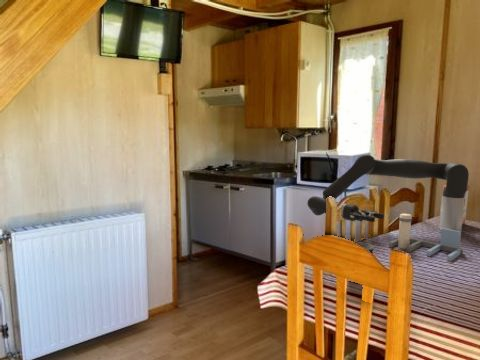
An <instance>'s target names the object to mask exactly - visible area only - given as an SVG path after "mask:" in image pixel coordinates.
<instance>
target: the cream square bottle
mask: <svg viewBox="0 0 480 360" xmlns="http://www.w3.org/2000/svg"><path fill="white" fill-rule="evenodd" d="M398 220H399V226H398V238H397V239H398V245H397V248H398V249H401V250H407V246H409V245H410V244H411V243H410V238H411V231H412V230H411V229H412V228H411V226H412V225H411V224H412V222H413V218H412V214H409V213H400V214H399V217H398Z"/></svg>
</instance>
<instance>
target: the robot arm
mask: <svg viewBox="0 0 480 360" xmlns="http://www.w3.org/2000/svg"><path fill="white" fill-rule="evenodd" d="M364 175H382V176H383V175H384V176H390V177H396V178H405V179H414V180H415V179H431V178H433V179H439V180H445V181H446V183H445V185H446V188H445V190H444V191H443V200H442V210H441V211H440V210H439V217H440V222H439V221H438V229H439V230H440V231H441V229H442V228H444V229H450V230H456V231H461V232H462V228H463V224H462V220H463V209H464V198H465V193H466V191H467V185H468V184H469V175H470V173H469V170H468V167H466V166H465V165H464V164H460V163H457V162H448V163H446V162H443V163H441V162H429V161H424V160H417V159H408V158H397V159H396V158H395V159H387V160H385V159H376V158H375V157H373V156H372V155H371V154H366V153H365V154H362V155H360V156H358V158H357V159H355V161H354V163H353V164H352V166H351V167H350V168H349V169H348V170H347V171H346V172H345V173H343V174H342V175H340V176H339V177H338V178H337V179H336V180H334V181H333V182H332V183H330V185H328V186H327V187H326V188H324V190H322V197H321V196H318V195H316V196H315V195H314V196H311V197H309V198H308V200H307V202H306V203H307V204H306V205H307V206H308V208H309V209H310V211H311V212H312V213H313V215H315V216H322V215H324V214H326V198H327V197H329V196H332V197H334V198H335V200H336V199H337V198H339V197H340V196H341V195H342V194H343V193H345V192H346V190H347V189H348V188H349V187H350V186H352V184H354V183H355V182H356V181H358V179H360V178H361V177H363V176H364ZM468 186H469V185H468ZM335 202H336V203H337V204H339V203H340V202H337V201H335ZM343 203H344V204H343V205H342V207H341V216H342V218H343V219H342V220H346V221H349V222H355V221H357V222H372V223H374V222H375V221H376V219H380V220H384V219H385V218H384V217H385V215H384V213H379V212H378V211H377V210H371V209H365V208H364V209H359V207H358V205H356V204H351V203H345V202H343Z"/></svg>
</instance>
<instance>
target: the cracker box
mask: <svg viewBox="0 0 480 360" xmlns="http://www.w3.org/2000/svg"><path fill="white" fill-rule="evenodd" d="M445 188H446V184H445V185H442V188H441V189H442V190H441V197H440V198H441V199H440V208H439V209H440V210H439V212H440V211H441V210H442V200H443V191H444V190H445ZM469 188H470V185H467V191H466V193H465V198H464V209H463V220H462V225H466V218H467V217H466V216H467V208H468V198H469V190H470V189H469ZM439 222H440V216H439V220H438V223H439Z"/></svg>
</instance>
